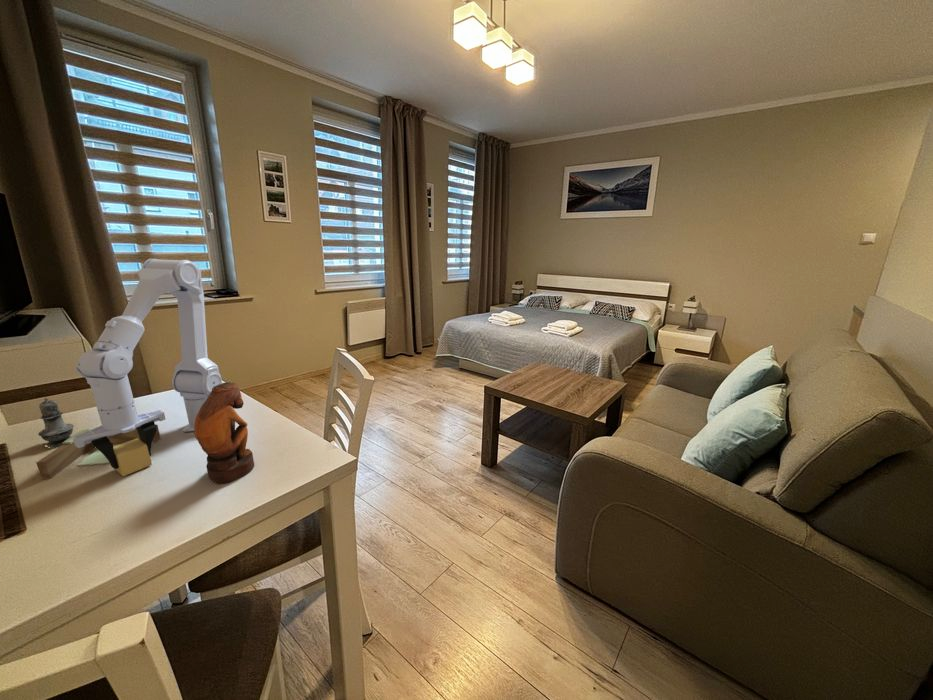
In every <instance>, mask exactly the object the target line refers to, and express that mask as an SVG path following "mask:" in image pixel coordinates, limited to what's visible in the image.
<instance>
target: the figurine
mask: <svg viewBox="0 0 933 700" xmlns="http://www.w3.org/2000/svg"><path fill="white" fill-rule="evenodd" d="M242 397H243V396H242V392H241V389H240V387H238V385H237V383H235V382H230V381H229V382H222V384H219V385H217V386H214V387H213V388H212V391H211V393H210V394H209V396H208V398H207V399H206V401H205V402H204V403H203V405H202V406H201V408H200V410H199V412H198V413H197V415H196V418H195V423H194V431H193V432H194V436H195V438H196V440H197V442H198V444H199V446H200V448H201V450H202V451H203V452H204V453H205V454H206V455H207V456H206V465H205V466H206V467H205V468H206V471H207V475H208V479H209V480H210V482H211V483H213V484H225V483H229V482H233V481H235V480H237V479H238V478H241V477H243V476H245V475H247V474H249V473H250V472H251V471H253V468H254V467H255V461H254V454H253V452H252V450H251V449H250V448H246V446H247V442H248V435H249V430H248V423H247V422H246V421H245V420H244V419H243V418H242V417H241V416H240V415H239V414H238V412H237V411H236V410H235V409H237V410H238V409H242V408H243V406H244V399H243V398H242ZM236 424H238V426H236Z"/></svg>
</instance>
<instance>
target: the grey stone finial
mask: <svg viewBox="0 0 933 700" xmlns="http://www.w3.org/2000/svg"><path fill="white" fill-rule="evenodd" d="M38 406H39V410H40V413H41V416H40V420H43V423H44V429H42V430H41V431H39V432H38V433H37V435H38V436H40V437H41V438H42V440H44V441H46V442H47V443H45V445H47V446H48V447H50V448H49V449H57V448H56V447H58V448H59V447H60V446H62V445H63V444H62V443H63V442H64V441H66V440H67V439H69V438H70V437H72V436H73V435H72V434H73V431H74V428H75V426H74V424H72V423H65V422H64V419H63V416H62V415H63V412H62V411H60V409H59V406H58V403H57V401H55V400H49V398H47V397H44V401H43V402H41V403H40V404H39V405H38Z"/></svg>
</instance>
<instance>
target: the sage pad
mask: <svg viewBox="0 0 933 700" xmlns="http://www.w3.org/2000/svg"><path fill="white" fill-rule="evenodd" d="M117 445H120V444H117ZM117 445H113V447H114V446H117ZM104 464H110V463H109V461H108V460H107V458H106V457H105V456H104V455H103V454H102V453H101V452H100V451H99V450H98V449H96V450H95V451H93V452H92V453H91V454H90V455H89V456H87V457H86V458H85V459H84V460H82V461H81V462H80V463H78V464H77V466H78V467H82V466H92V465H104Z"/></svg>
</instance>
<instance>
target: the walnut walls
mask: <svg viewBox="0 0 933 700" xmlns="http://www.w3.org/2000/svg"><path fill="white" fill-rule="evenodd" d="M156 425H157V431H156V433H155V436H154V438H153V442H152V443H155V442H159V441H160V440H162V438H161V434H160V430H159V429H160V428H159V425H158V424H156ZM97 427H98V426H94V427H93V426H92V427H90V428H85V429H81V430H79V431H77V432H76V433H75V434H73V435H71V436H72V437H70V438H69V439H67V440H66V441H64V442H63V443H62V444H63V445H62V446H60V447H58V448H55V449H54V450H52V451H51V452H50V453H48V454H47V455H45V456H44V457H42V458H41V459H40V460H38V461H36V462H35V463H36V466H37V470H38V472H39V474H40V477H41V480H47V479H52V478H53V477H55V476H56V475H57V474H58V473H60V472H61V471H63V469H65V468H66V467H68V466H69V465H70V464H72V463H73V462H75V461H76V460H77V459H78V458H80V457H82V456H83V455H84V454H85V453H87V452H88V451H90V450H91V449H92V448H95V447H94V446H93V445H92V444H91V443H88V444H85V446H84V447H80V448H78V447H76V446H75V443H74V440H73V437H74V436H77V435H80V434H82V433H85V432H87V431H90V430H92V429H94V428H97ZM107 438H108V439H109V440H110V442H111V443H113V445H117V444H123V443H126V442H129V441H132V440H134V439H137V438H138V439H139V440H140V437H139V434H138V432H137V429H136V428H135V430H133V431H130V432H127V433H119V434H116V435H113V436H110V437H107ZM90 448H91V449H90Z"/></svg>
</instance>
